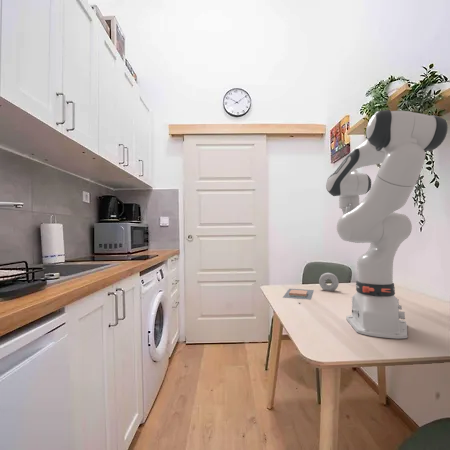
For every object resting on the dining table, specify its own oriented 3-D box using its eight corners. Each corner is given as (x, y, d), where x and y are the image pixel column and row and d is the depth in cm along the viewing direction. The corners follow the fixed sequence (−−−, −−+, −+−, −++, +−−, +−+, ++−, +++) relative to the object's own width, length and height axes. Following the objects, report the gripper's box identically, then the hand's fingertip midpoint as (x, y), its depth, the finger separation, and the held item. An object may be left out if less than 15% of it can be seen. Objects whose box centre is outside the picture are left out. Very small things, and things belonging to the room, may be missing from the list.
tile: (307, 293, 142) (306, 297, 134) (291, 292, 145) (289, 295, 137) (307, 290, 142) (306, 294, 135) (291, 289, 145) (289, 292, 137)
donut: (318, 291, 150) (318, 272, 151) (319, 289, 153) (319, 271, 154) (338, 293, 145) (338, 273, 146) (339, 291, 148) (339, 272, 149)
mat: (310, 300, 130) (310, 299, 130) (282, 298, 134) (282, 297, 134) (313, 291, 150) (313, 290, 150) (289, 289, 155) (289, 288, 155)
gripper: (358, 201, 123) (358, 233, 123) (354, 205, 142) (355, 232, 142) (342, 202, 125) (343, 233, 125) (341, 206, 144) (341, 233, 144)
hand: (349, 233), depth 133 cm, fingers closed
